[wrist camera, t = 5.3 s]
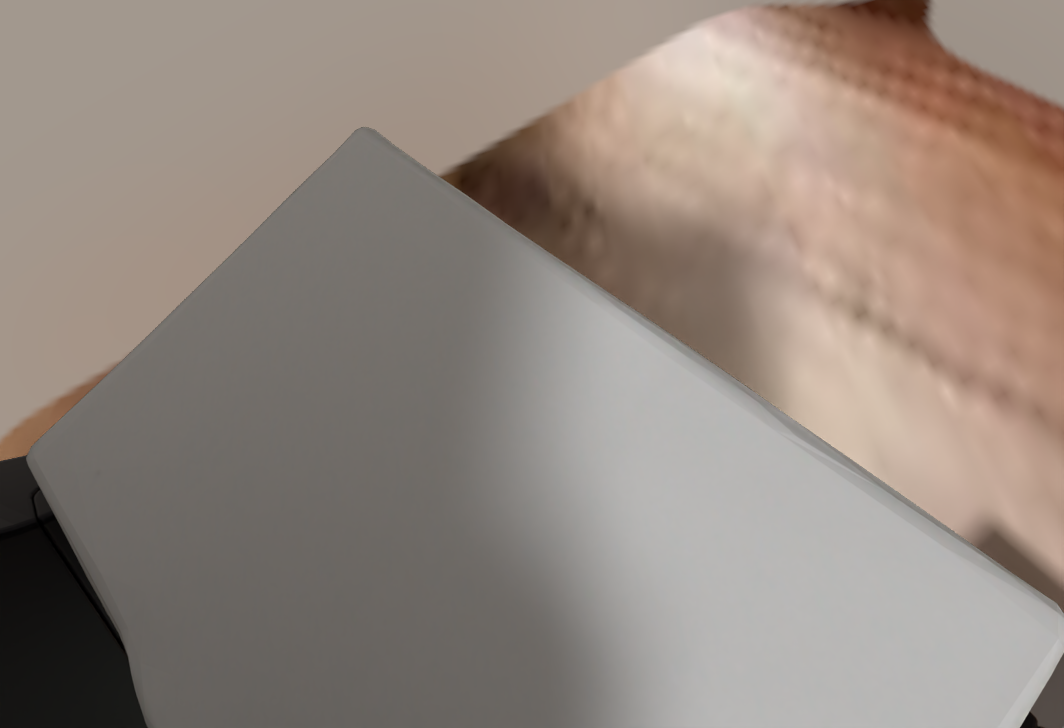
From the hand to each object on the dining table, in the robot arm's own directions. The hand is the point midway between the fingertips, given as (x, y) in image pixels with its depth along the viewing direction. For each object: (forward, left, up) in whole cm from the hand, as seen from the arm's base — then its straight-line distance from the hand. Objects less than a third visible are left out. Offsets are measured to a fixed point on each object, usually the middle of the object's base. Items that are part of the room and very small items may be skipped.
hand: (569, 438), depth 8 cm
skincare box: (-1, -1, -7) cm, 7 cm away
